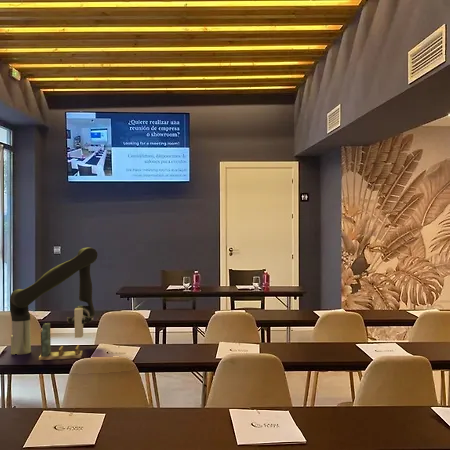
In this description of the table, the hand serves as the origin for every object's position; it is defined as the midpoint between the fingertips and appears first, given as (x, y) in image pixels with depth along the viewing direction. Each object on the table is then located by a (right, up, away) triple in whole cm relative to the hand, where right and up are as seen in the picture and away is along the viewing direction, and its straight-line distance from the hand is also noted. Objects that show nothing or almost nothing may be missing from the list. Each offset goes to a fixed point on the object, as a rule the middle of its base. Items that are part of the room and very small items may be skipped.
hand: (78, 321), depth 278 cm
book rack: (-9, -18, +3) cm, 21 cm away
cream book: (0, -8, +3) cm, 8 cm away
